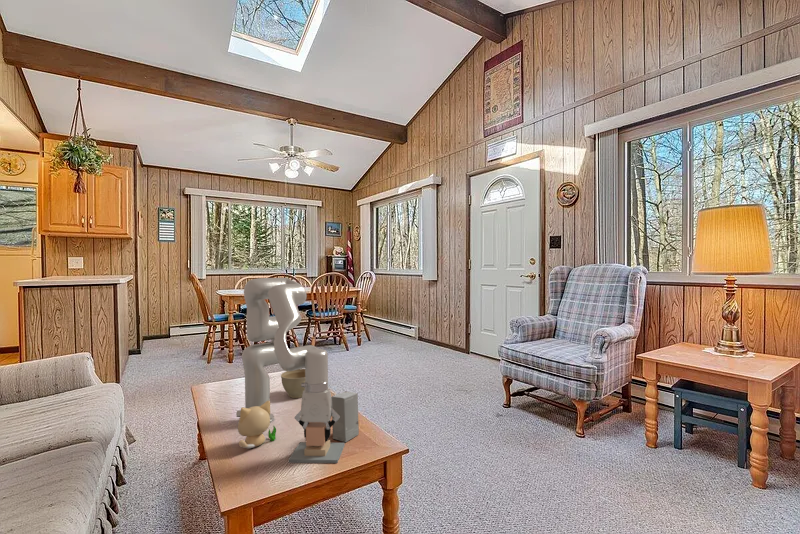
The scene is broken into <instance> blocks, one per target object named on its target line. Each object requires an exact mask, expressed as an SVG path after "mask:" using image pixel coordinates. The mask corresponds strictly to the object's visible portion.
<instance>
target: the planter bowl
mask: <svg viewBox="0 0 800 534" xmlns="http://www.w3.org/2000/svg"><path fill="white" fill-rule="evenodd" d="M280 378H281V384H282V387H283V389H284V391H285V393H287V396H288V397H289V398H290V399H291V398H292V399H302V394H303V391H304V390H305V387H301V384H302V383H305V368H302V369H298V370H294V371H284V372H282V373H281V374H280Z"/></svg>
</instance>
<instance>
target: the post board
mask: <svg viewBox="0 0 800 534" xmlns="http://www.w3.org/2000/svg"><path fill="white" fill-rule="evenodd" d="M345 445H346V443H345V442H331V439H328V441H326V443H325V445H324V446H306V441H300V442H299V443H298V444H297V446H296V447H295V449H294V450H293V452H292V454H291V455H290V457H289V458H288V463H292V464H293V463H295V464H296V463H299V464H303V463H305V464H338V462H339V460H340V458H341V455H342V453H343V450H344V448H345Z"/></svg>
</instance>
